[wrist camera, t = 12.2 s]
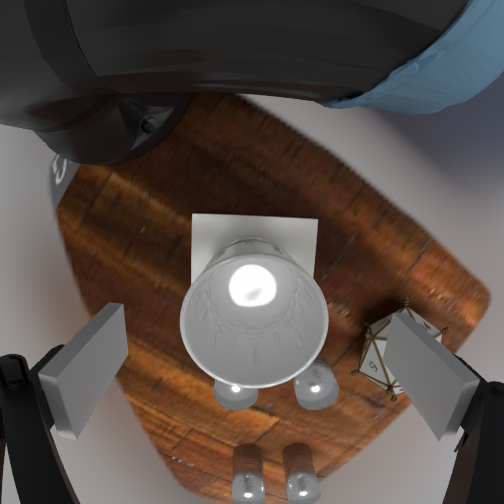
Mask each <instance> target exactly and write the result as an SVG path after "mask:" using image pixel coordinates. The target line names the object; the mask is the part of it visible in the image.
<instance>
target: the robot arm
mask: <svg viewBox="0 0 504 504" xmlns="http://www.w3.org/2000/svg"><path fill="white" fill-rule="evenodd" d="M503 71H504V0H0V124H3V125H8V126H13V127H18V128H23V129H29V130H33V131H34V132H35V133H36V134H37V135H38V136H39V137H40V138H41V139H42V140H43V141H44V142H45V143H46V144H47V145H48V146H49V148H51V149H52V150H53V151H54V152H55V153H57V154H58V155H60V156H61V157H64V158H66V159H68V160H70V161H73V162H76V163H81V164H88V165H97V166H107V165H115V164H120V163H123V162H127V161H129V160H132V159H134V158H137V157H139V156H141V155H142V154H144V153H146V152H148V151H149V150H151V149H152V148H153V147H155V146H156V145H157V144H159V143H160V142H161V141H162V140H163V139H164V138H165V137H166V136H167V135H168V134H169V133H170V132H171V131H172V130H173V129H174V127H175V126H176V125H177V124H178V122H179V121H180V119H181V118H182V116H183V114H184V113H185V111H186V109H187V107H188V105H189V103H190V100H191V97H192V94H193V91H201V92H226V93H242V94H255V95H266V96H277V97H285V98H293V99H301V100H308V101H314V102H316V103H319V104H321V105H323V106H324V107H329V108H338V109H342V108H351V107H355V106H361V107H368V108H374V109H380V110H386V111H393V112H399V113H403V114H427V113H434V112H438V111H439V110H441V109H443V108H444V107H446V106H448V105H452V104H458V103H460V102H464V101H466V100H468V99H470V98H472V97H473V96H474V95H476V94H477V93H478V92H480V91H481V90H483V89H484V88H486V87H487V86H488V85H489V84H491V83H492V82H493V81H494V80H495V79H496V78H497V77H498V76H499V75H500V74H501V73H502V72H503ZM127 356H128V347H127V338H126V329H125V319H124V308H123V304H118V303H108V304H107V305H106V306H105V307H104V308H103V309H102V310H101V311H100V312H99V313H97V314H96V315H95V316H94V317H93V318H92V319H91V320H90V321H89V322H88V323H87V324H86V325H85V326H84V327H83V328H82V329H81V330H80V331H79V332H78V333H77V334H76V335H75V336H74V337H73V338H72V339H71V340H70V341H69V342H68V343H67V344H66V345H62V344H61V345H59V346H57V347H55V348H52V349H51V350H50V351H49V352H48V353H47V354H46V355H45V356H44V357H43V358H42V359H41V360H40V361H39V362H38V363H37V364H36V365H35V366H34V367H33V368H32V369H31V370H30V371H29V368H28V365H27V361H26V359H25V357H23V356H21V355H17V354H8V355H4V356H1V357H0V504H1V496H2V495H1V494H2V478H3V465H4V456H5V447H6V443H7V449H8V454H9V459H10V464H11V468H12V473H13V477H14V481H15V485H16V489H17V493H18V496H19V499H20V503H21V504H80V502H79V500H78V498H77V496H76V494H75V492H74V489H73V487H72V485H71V483H70V480H69V478H68V476H67V474H66V471H65V469H64V466H63V464H62V461H61V459H60V456H59V454H58V451H57V448H56V446H55V443H54V440H53V437H52V435H51V432H50V429H51V427H52V426H53V425H54V424H55V426H56V429H57V431H58V434H59V435H60V436H64V437H67V438H71V439H74V440H77V438H78V436H79V435H80V433H81V431H82V430H83V428H84V426H85V425H86V423H87V421H88V419H89V418H90V416H91V414H92V413H93V411H94V409H95V408H96V406H97V404H98V403H99V401H100V399H101V398H102V396H103V394H104V393H105V391H106V389H107V388H108V386H109V385H110V383H111V381H112V379H113V378H114V376H115V375H116V373H117V372H118V370H119V368H120V367H121V365H122V364H123V362H124V360H125V359H126V357H127ZM382 361H383V362H384V364H385V365H386V367H387V368H388V369H389V371H390V372H391V373H392V375H393V376H394V378H395V379H396V380H397V382H398V383H399V384H400V386H401V387H402V389H403V390H404V391H405V393H406V394H407V396H408V397H409V399H410V400H411V401H412V403H413V404H414V406H415V407H416V408H417V410H418V411H419V413H420V414H421V416H422V417H423V418H424V420H425V421H426V423H427V424H428V426H429V427H430V429H431V430H432V431H433V433H434V434H435V436H436V437H437V439H438V440H439V441H443V440H446V439H450V438H454V437H455V435H456V433H457V431H458V429H459V427H460V426H461V427H462V428H463V429H464V433H463V435H462V437H461V439H460V441H459V443H458V445H457V447H456V449H455V450H454V452H456V451H457V450H458V453H457V457H456V460H455V464H454V468H453V471H452V475H451V478H450V481H449V485H448V488H447V491H446V494H445V497H444V500H443V503H442V504H504V383H501V382H496V381H492V382H489V383H488V382H487V381H486V380H485V379H484V378H482V377H481V376H480V375H479V374H478V373H477V372H476V371H475V370H473V369H472V367H471V366H469V365H467V363H466V362H465V361H464V360H463V359H462V358H460V357H458V356H456V355H455V354H453V353H451V352H450V351H448V350H447V349H446V348H445V347H444V346H443V345H442V344H441V343H440V342H438V341H437V340H436V339H435V338H434V337H433V336H432V335H431V334H430V333H428V332H427V331H426V330H425V329H424V328H423V327H422V326H420V325H419V324H418V323H417V322H416V321H415V320H414V319H412V318H411V317H410V316H409V315H408V314H407V313H393V314H392V319H391V324H390V329H389V334H388V338H387V343H386V347H385V351H384V355H383V359H382Z"/></svg>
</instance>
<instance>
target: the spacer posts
mask: <svg viewBox="0 0 504 504" xmlns="http://www.w3.org/2000/svg"><path fill="white" fill-rule="evenodd" d="M292 381H293V385H294V389H295V393H296V397H297V401H298V402H299V404H300V405H301V406H302V407H304V408H306V409H310V410H318V409H322V408H325V407H327V406H329V405H330V404H331V403H333V402H334V400H335V399H336V398H337V396H338V393H339V386H338V383H337V381H336V379H335V377H334V375H333V373H332V370H331V368H330V366H329V364H328V362H327V360H326V357H325V355H324V353H323V351H322V349H321V350H320V352H319V354H318V355H317V357H316V358H315V359H314V361H313V362H312V363H311V364H310V365H309V366H308V367H307V368H306V369H305V370H304V371H302V372H301V373H300V374H298V375H297V376H295V377H294V378H292ZM214 397H215V399H216V401H217V402H218V403H219V404H220V405H221V406H223V407H225V408H227V409H231V410H242V409H246V408H248V407H250V406H251V405H253V404H254V403H255V402H256V400H257V398H258V388H242V387H236V386H232V385H229V384H226V383H223V382H221V381H219V380H217V379H215V385H214ZM282 458H283V465H284V472H285V479H286V486H287V493H288V500H289V502H290V503H291V504H311V503H314V502H315V501H317V500H318V499H319V498H320V490H319V486H318V482H317V477H316V473H315V469H314V465H313V461H312V457H311V453H310V449H309V447H308V446H306V445H304V444H293V445H290V446H288V447H286V448H285V449H284V450H283V452H282ZM232 501H233V502H234V503H235V504H262V503H264V501H265V489H264V475H263V462H262V451H261V449H260V448H259V447H257V446H255V445H251V444H244V445H240V446H238V447H237V448H235V450H234V452H233V483H232Z"/></svg>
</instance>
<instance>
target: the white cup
mask: <svg viewBox="0 0 504 504" xmlns="http://www.w3.org/2000/svg"><path fill="white" fill-rule="evenodd" d="M180 329H181V335H182V339H183V342H184V345H185V347H186V349H187V351H188V353H189V355H190V356H191V358H192V359H193V360H194V362H195V363H196V364H197V365H198V366H199V367H200V368H201V369H202V370H203V371H205V372H206V373H207V374H209V375H210V376H212V377H213V378H215V379H217V380H219V381H221V382H223V383H226V384H229V385H232V386H236V387H242V388H265V387H270V386H275V385H278V384H281V383H283V382H286V381H288V380H290V379H292V378H294V377H295V376H297V375H298V374H300V373H301V372H302V371H304V370H305V369H306V368H307V367H308V366H309V365H310V364H311V363H312V362H313V361H314V359H315V358H316V357H317V355H318V354H319V352H320V350H321V348H322V346H323V344H324V342H325V339H326V335H327V331H328V309H327V304H326V301H325V298H324V295H323V293H322V291H321V289H320V288H319V286H318V285H317V283H316V282H315V280H314V279H313V278H312V277H311V276H310V275H309V274H308V273H307V272H306V271H305V270H304V269H303V268H302V267H301V266H300V265H299V264H298V263H297V262H296V261H295V260H294V259H293V258H292V257H291V256H290V255H289V254H288V253H287V252H285V251H284V250H283V249H282V248H280V247H278V246H277V245H276V244H275V243H273V242H270V241H268V240H265V239H263V238H260V237H243V238H237V239H235V240H234V241H232V242H230V243H228V244H227V245H225V246H223V247H222V248H221V249H220V251H218V252H217V253H216V254H215V255H214V256H213V257H212V259H211V260H210V261H209V262H208V263H207V265H206V266H205V267H204V269H203V270H202V271H201V273H200V274H199V276H198V277H197V278H196V280H195V281H194V283H193V284H192V285H191V287H190V288H189V290H188V292H187V294H186V296H185V298H184V301H183V304H182V308H181V314H180Z"/></svg>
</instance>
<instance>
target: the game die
mask: <svg viewBox="0 0 504 504" xmlns="http://www.w3.org/2000/svg"><path fill="white" fill-rule="evenodd" d="M403 301H404V307H402V308H401V309H399V310H397V311H395V312H393V313H407V314H408V315H409V316H410V317H411V318H412V319H414V320H415V321H416V322H417V323H418V324H419V325H420V326H422V327H423V328H424V329H425V330H426V331H427V332H428V333H430V334H431V335H432V336H433V337H434V338H435V339H436V340H437V341H438V342H440V343H442V336H443V334H446V333H447V332H449V330H450V328H449V327H446V328H443V330H440V329H438V328H437V327H436V326H434V325H433V324H431V323H430V322H429V321H427V320H426V319H425V318H423V317H422V316H420V315H419V314H418V313H416V312H415V311H413V310H412V309H411V308H409V307H408V305H409V301H410V300H409V299H408V297H407V296H406V298H405V299H404V300H403ZM393 313H391V314H390V315H388V316H386V317H384V318H382V319H380V320H378V321H376V322H374V323H372V324H369V322H367V321H362V322H363V325H364V326H365V327H368V329H367V333H366V334H365V335H366V338H365V342H364V347H363V351H362V355H361V359H360V363H359V367H358V369H357V370H354V371H352V372H351V373H350V374H349V375H351V376H355V375H357V374H358V373H360V374H362V375H363V376H365V377H366V378H368V379H369V380H371V381H372V382H374V383H375V384H377V385H378V386H380V387H381V388H383V389H384V390H386V393H387V395H390V394H392V395H393V396H391V397H392V398H391V401H392V403H394V402H395V401H396V400H397V399H396V398H397V397H396V395H398V394H401V393H404V392H405V391H404V390H403V389H402V387H401V386H400V384H399V383H398V382H397V380H396V379H395V378H394V376H393V375H392V373H391V372H390V371H389V369H388V368H387V367H386V365H385V364H384V362H383V361H382V359H383V355H384V351H385V347H386V343H387V338H388V334H389V329H390V324H391V319H392V314H393Z"/></svg>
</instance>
